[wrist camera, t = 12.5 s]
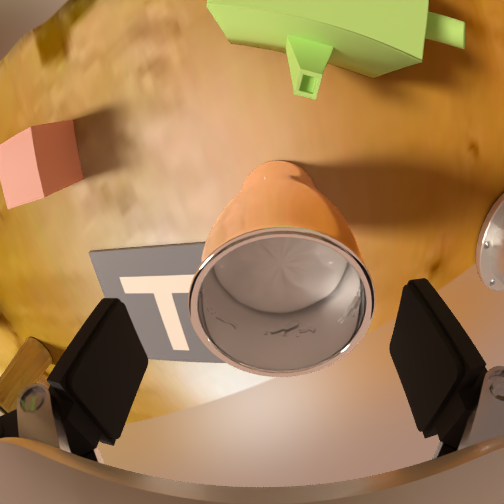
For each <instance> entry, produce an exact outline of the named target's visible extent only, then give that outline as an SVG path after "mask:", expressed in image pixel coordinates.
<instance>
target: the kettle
mask: <svg viewBox="0 0 504 504" xmlns="http://www.w3.org/2000/svg"><path fill="white" fill-rule="evenodd" d="M428 6H429V0H208V1H207V4H206V7H207V8H208V9H209V11H210V12H211V14H212V15H213V17H214V18H215V20H216V21H217V23H218V25H219V26H220V28H221V29H222V31H223V32H224V34H225V35H226V37H227V39H228V40H229V42H230V43H231V44H238V45H245V46H251V47H257V48H263V49H269V50H274V51H279V52H284V53H287V58H288V63H289V69H290V74H291V79H292V85H293V91H294V95H299V96H303V97H306V98H310V99H314V100H316V98H317V94H318V90H319V87H320V83H321V79H322V76H323V72H324V69H325V67H326V65H327V63H328V64H331V65H334V66H338V67H341V68H344V69H347V70H350V71H353V72H356V73H359V74H362V75H365V76H367V77H370V78H375V77H378V76H381V75H383V74H386V73H389V72H392V71H395V70H399V69H402V68H405V67H408V66H411V65H415V64H418V63H421V62H422V58H423V51H424V44H425V39H429V40H433V41H437V42H441V43H444V44H448V45H451V46H454V47H457V48H461V49H465V41H466V25H465V22H463V21H460V20H457V19H454V18H451V17H447V16H444V15H440V14H437V13H433V12H429V11H428Z"/></svg>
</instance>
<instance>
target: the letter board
mask: <svg viewBox="0 0 504 504" xmlns="http://www.w3.org/2000/svg"><path fill="white" fill-rule="evenodd" d="M205 243H206V242H199V243H185V244H171V245H158V246H145V247H132V248H120V249H107V250H95V251H90V252H89V255H90V258H91V261H92V264H93V267H94V270H95V272H96V275H97V278H98V280H99V283H100V286H101V288H102V291H103V293H104V296H105V298H118V299H120V300H121V302H123V303H124V304H125V306H126V308H127V311H128V313H129V316H130V318H131V320H132V323H133V325H134V328H135V330H136V332H137V334H138V337H139V339H140V341H141V344H142V346H143V348H144V350H145V352H146V354H147V357H148V359H156V360H169V361H185V362H210V363H226V362H224V361H223V360H221V359H220V358H218V357H217V356H216V355H214V354H213V353H212V352H211V351H210V350H209V349H208V348H207V347H206V346H205V345H204V344H203V342H202V341H201V340H200V338H199V337H198V335H197V333H196V332H195V330H194V328H193V325H192V322H191V319H190V315H189V309H188V296H189V289H190V285H191V282H192V280H193V277H194V275H195V273H196V271H197V267H198V264H199V260H200V257H201V254H202V251H203V248H204V245H205Z"/></svg>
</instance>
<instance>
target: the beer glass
mask: <svg viewBox="0 0 504 504" xmlns="http://www.w3.org/2000/svg"><path fill="white" fill-rule="evenodd" d="M188 309H189V315H190V319H191V322H192V325H193V328H194V330H195V332H196V333H197V335H198V337H199V338H200V340H201V341H202V342H203V344H204V345H205V346H206V347H207V348H208V349H209V350H210V351H211V352H212V353H213V354H214V355H216V356H217V357H218V358H220V359H221V360H223V361H224V362H226V363H228V364H229V365H231V366H233V367H236V368H238V369H240V370H243V371H246V372H249V373H253V374H257V375H263V376H271V377H288V376H298V375H303V374H308V373H312V372H315V371H317V370H320V369H323V368H325V367H327V366H330V365H332V364H333V363H335V362H337V361H338V360H340V359H341V358H343V357H344V356H346V355H347V354H348V353H349V352H350V351H351V350H352V349H353V348H354V347H355V346H356V345H357V344H358V343H359V342H360V341H361V339H362V338H363V336H364V335H365V333H366V332H367V330H368V328H369V326H370V323H371V321H372V318H373V314H374V309H375V290H374V285H373V281H372V278H371V276H370V273H369V271H368V269H367V268H366V266H365V263H364V260H363V257H362V254H361V252H360V249H359V247H358V244H357V242H356V239H355V237H354V235H353V233H352V231H351V229H350V227H349V226H348V224H347V222H346V220H345V219H344V217H343V216H342V215H341V213H340V212H339V211H338V209H337V208H336V207H335V205H334V204H333V203H332V202H331V201H330V200H329V199H328V198H327V197H326V196H324V195H323V194H322V193H320V192H319V191H318V190H316V189H315V186H314V183H313V181H312V179H311V178H310V176H309V175H308V174H307V173H306V172H305V171H304V170H303V169H302V168H300V167H299V166H297V165H295V164H293V163H290V162H286V161H270V162H267V163H264V164H261V165H260V166H258V167H256V168H255V169H254V170H253V171H252V172H251V173H250V174H249V175H248V176H247V178H246V179H245V181H244V183H243V186H242V189H241V192H240V193H239V194H238V195H237V196H235V197H234V198H233V199H232V200H231V201H230V202H229V203H228V204H227V205H226V207H225V208H224V209H223V211H222V212H221V214H220V215H219V217H218V218H217V220H216V221H215V223H214V225H213V227H212V229H211V231H210V233H209V236H208V238H207V240H206V243H205V245H204V248H203V251H202V254H201V257H200V260H199V264H198V267H197V271H196V273H195V275H194V277H193V280H192V282H191V285H190V289H189V296H188Z"/></svg>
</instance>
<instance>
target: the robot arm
mask: <svg viewBox="0 0 504 504" xmlns="http://www.w3.org/2000/svg"><path fill="white" fill-rule="evenodd" d="M476 266H477V271H478V274H479V277H480V279H481V280H482V281H483V283H484V284H485V285H486V286H487V287H488V288H490V289H492V290H495V291H501V290H504V193H503V194H502V195H501V196H500V197H499V198H498V200H497V201H496V202H495V203H494V204H493V206H492V208H491V209H490V211H489V213H488V214H487V217H486V219H485V221H484V223H483V226H482V229H481V232H480V234H479V239H478V243H477V250H476ZM390 354H391V357H392V359H393V362H394V364H395V367H396V370H397V372H398V375H399V378H400V380H401V383H402V385H403V388H404V391H405V393H406V397H407V399H408V402H409V405H410V407H411V411H412V414H413V416H414V419H415V423H416V426H417V428H418V430H419V431H420V432H421V431H423V434H424V437H425V438H428V437H431V436H434V435H437V434H438V436H439V440H440V443H439V445H438V447H437V450H436V452H435V454H434V456H433V458H432V460H429V461H426V462H423V463H420V464H417V465H413V466H410V467H406V468H402V469H398V470H395V471H391V472H387V473H383V474H378V475H374V476H369V477H365V478H359V479H353V480H348V481H341V482H335V483H326V484H318V485H306V486H292V487H262V488H261V487H257V488H256V487H229V486H215V485H204V484H196V483H188V482H181V481H174V480H168V479H163V478H157V477H153V476H148V475H143V474H139V473H135V472H131V471H126V470H123V469H119V468H115V467H112V466H109V465H105V464H104V461H103V459H102V456H101V454H100V451H99V448H98V446H97V445H98V442H99V441H100V442H102V443H106V444H109V445H114V443H115V441H116V439H118V438H119V437H120V436H121V433H122V430H123V427H124V425H125V422H126V420H127V417H128V414H129V412H130V409H131V406H132V404H133V401H134V399H135V396H136V393H137V391H138V388H139V386H140V383H141V381H142V378H143V376H144V373H145V371H146V368H147V366H148V357H147V354H146V352H145V350H144V348H143V346H142V344H141V341H140V339H139V337H138V334H137V332H136V330H135V328H134V325H133V323H132V320H131V318H130V316H129V313H128V311H127V308H126V306H125V304H124V303H123V302H121V300H120V299H118V298H103V299H102V300H101V301H100V302H99V304H98V305H97V306H96V308H95V309H94V310H93V312H92V313H91V315H90V316H89V317H88V319H87V320H86V321H85V323H84V324H83V326H82V327H81V329H80V330H79V331H78V333H77V334H76V336H75V337H74V339H73V340H72V341H71V343H70V344H69V346H68V347H67V349H66V350H65V352H64V353H63V355H62V356H61V358H60V359H59V361H58V362H57V364H56V366H55V367H54V369H53V370H52V372H51V373H50V375H49V377H48V378H47V381H48V382H49V384H50V385H51V386H50V387H49V389H48V388H47V387H46V385H44V384H42V383H34V384H31V385H29V386H27V387H26V388H25V389H24V390H23V391H22V392H21V393H20V395H19V397H18V399H17V409H15V410H13V411H11V412H9V413H7V414H4V415H3V416H0V504H504V367H503V366H496V367H493V368H491V369H489V371H487V369H486V368H485V365H486V363H485V361H484V360H483V358H482V357H481V355H480V353H479V352H478V350H477V348H476V347H475V345H474V344H473V342H472V341H471V339H470V338H469V336H468V335H467V333H466V332H465V330H464V329H463V328H462V326H461V324H460V323H459V322H458V320H457V319H456V317H455V316H454V315H453V313H452V312H451V310H450V309H449V308H448V306H447V305H446V304H445V302H444V301H443V300H442V298H441V297H440V296H439V294H438V293H437V292H436V290H435V289H434V288H433V286H432V285H431V284H430V283H429V281H428V280H427V279H425V278H423V279H415V280H410V281H409V282H408V284H407V285H405V286H404V287H403V291H402V296H401V301H400V306H399V310H398V314H397V319H396V323H395V327H394V331H393V335H392V339H391V342H390Z"/></svg>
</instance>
